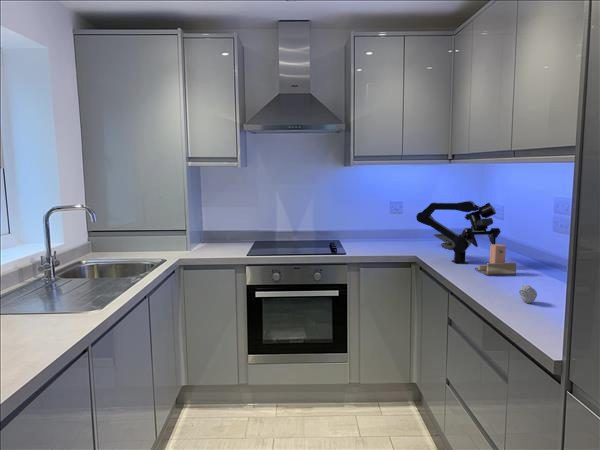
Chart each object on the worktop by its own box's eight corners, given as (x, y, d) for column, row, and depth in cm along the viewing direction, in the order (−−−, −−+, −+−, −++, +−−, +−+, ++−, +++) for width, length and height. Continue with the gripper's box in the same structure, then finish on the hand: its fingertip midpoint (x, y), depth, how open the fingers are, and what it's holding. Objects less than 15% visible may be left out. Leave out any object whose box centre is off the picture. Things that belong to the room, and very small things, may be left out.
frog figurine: (514, 302, 175) (515, 284, 174) (525, 299, 178) (526, 282, 178) (529, 306, 170) (530, 288, 169) (540, 303, 173) (541, 285, 172)
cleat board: (474, 269, 229) (475, 258, 229) (501, 269, 231) (501, 257, 230) (487, 276, 216) (488, 263, 216) (515, 275, 218) (516, 263, 217)
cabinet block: (489, 270, 224) (490, 244, 222) (498, 270, 224) (500, 244, 222) (495, 273, 218) (496, 246, 216) (505, 272, 218) (506, 246, 217)
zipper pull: (445, 233, 307) (463, 239, 282) (444, 243, 308) (462, 250, 283) (432, 234, 306) (449, 240, 281) (432, 243, 307) (448, 250, 282)
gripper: (465, 212, 231) (474, 237, 222) (500, 212, 233) (510, 237, 223) (457, 225, 240) (465, 250, 230) (491, 225, 242) (500, 249, 232)
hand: (485, 246), depth 229 cm, fingers open, 9 cm apart
